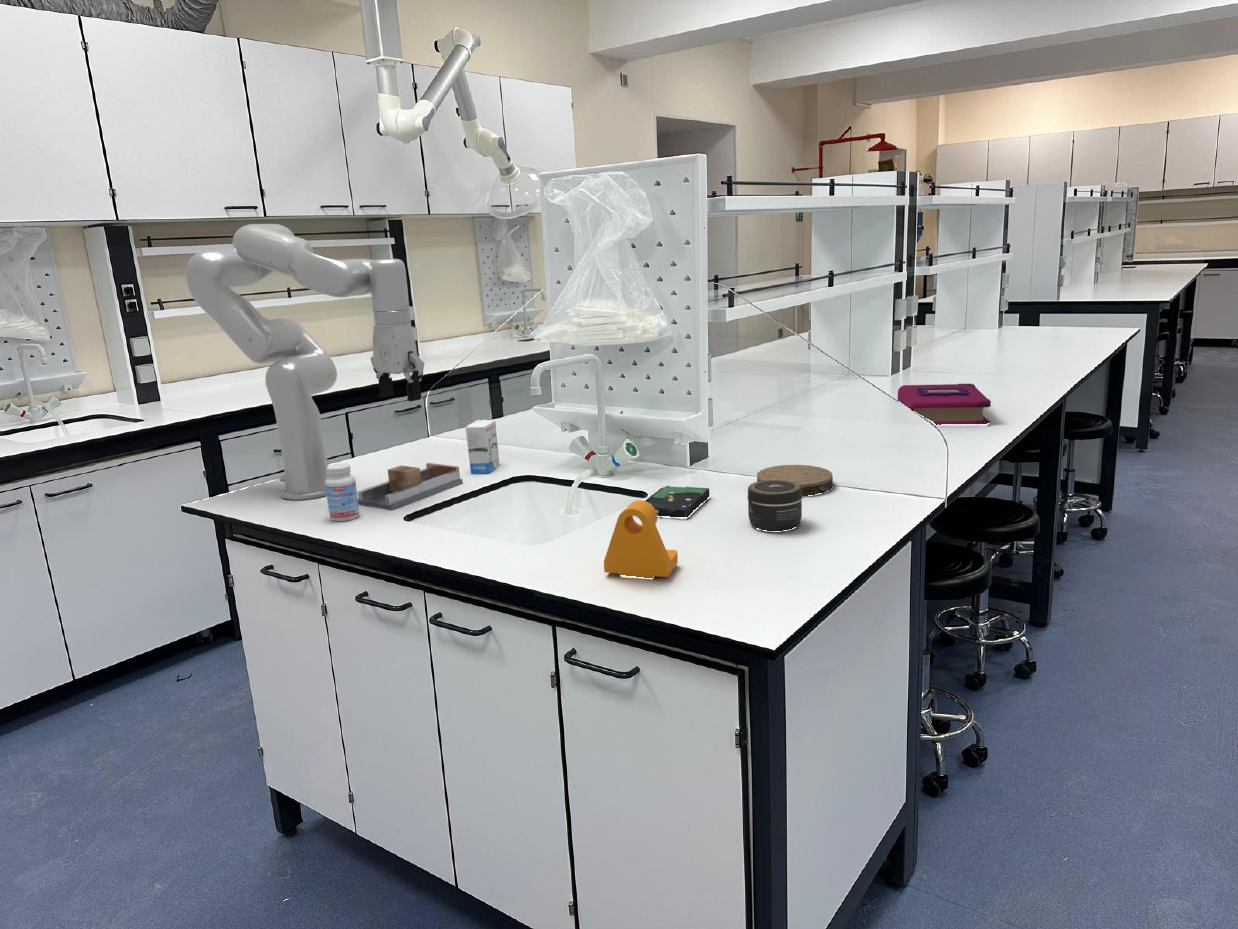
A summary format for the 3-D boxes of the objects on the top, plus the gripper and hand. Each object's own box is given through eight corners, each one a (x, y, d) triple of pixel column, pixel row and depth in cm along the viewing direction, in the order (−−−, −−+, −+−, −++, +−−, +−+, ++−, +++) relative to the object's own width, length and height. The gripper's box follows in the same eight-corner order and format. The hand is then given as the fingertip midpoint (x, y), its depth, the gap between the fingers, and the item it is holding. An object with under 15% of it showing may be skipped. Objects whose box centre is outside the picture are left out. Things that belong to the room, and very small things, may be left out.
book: (907, 428, 233) (908, 401, 231) (897, 408, 259) (897, 382, 257) (990, 428, 228) (992, 399, 226) (971, 407, 255) (972, 381, 253)
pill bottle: (329, 523, 178) (321, 471, 175) (330, 515, 184) (323, 464, 181) (360, 519, 179) (352, 467, 177) (360, 511, 185) (353, 460, 182)
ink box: (488, 474, 209) (484, 426, 206) (469, 474, 210) (464, 426, 208) (500, 464, 218) (496, 419, 215) (481, 464, 219) (477, 419, 216)
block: (390, 491, 195) (387, 469, 194) (403, 486, 198) (400, 465, 197) (409, 494, 192) (406, 472, 190) (422, 489, 195) (419, 467, 194)
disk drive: (687, 523, 168) (710, 499, 181) (687, 509, 167) (709, 487, 180) (638, 519, 172) (663, 496, 185) (637, 506, 171) (663, 484, 184)
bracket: (679, 565, 145) (676, 497, 142) (667, 581, 139) (664, 510, 136) (618, 561, 149) (614, 494, 146) (604, 577, 142) (600, 507, 139)
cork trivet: (763, 500, 178) (763, 486, 177) (751, 479, 193) (751, 466, 192) (841, 496, 178) (841, 482, 177) (822, 475, 193) (822, 462, 193)
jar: (738, 522, 165) (737, 483, 163) (784, 513, 168) (783, 475, 166) (765, 537, 156) (764, 497, 154) (812, 528, 159) (812, 488, 157)
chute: (357, 504, 191) (355, 486, 190) (428, 478, 208) (426, 462, 207) (392, 510, 185) (390, 492, 184) (462, 483, 202) (461, 466, 201)
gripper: (353, 319, 186) (362, 397, 190) (402, 322, 175) (411, 405, 180) (382, 315, 192) (390, 392, 196) (432, 318, 181) (439, 398, 185)
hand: (400, 398), depth 188 cm, fingers open, 9 cm apart
